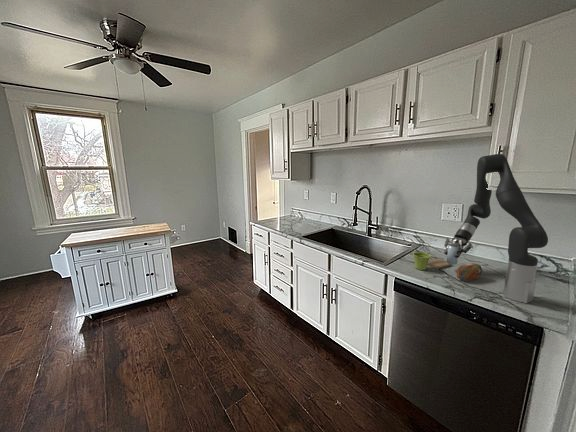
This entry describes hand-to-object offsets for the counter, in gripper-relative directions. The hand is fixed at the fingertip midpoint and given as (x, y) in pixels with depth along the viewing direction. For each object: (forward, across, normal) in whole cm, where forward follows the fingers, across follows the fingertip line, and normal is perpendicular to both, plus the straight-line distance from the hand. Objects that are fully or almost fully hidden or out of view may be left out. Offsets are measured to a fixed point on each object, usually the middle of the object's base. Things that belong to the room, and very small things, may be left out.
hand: (450, 255), depth 138 cm
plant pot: (+14, -10, 0) cm, 18 cm away
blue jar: (+2, 0, +5) cm, 5 cm away
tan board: (+4, -9, +10) cm, 14 cm away
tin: (+8, +11, +6) cm, 15 cm away
